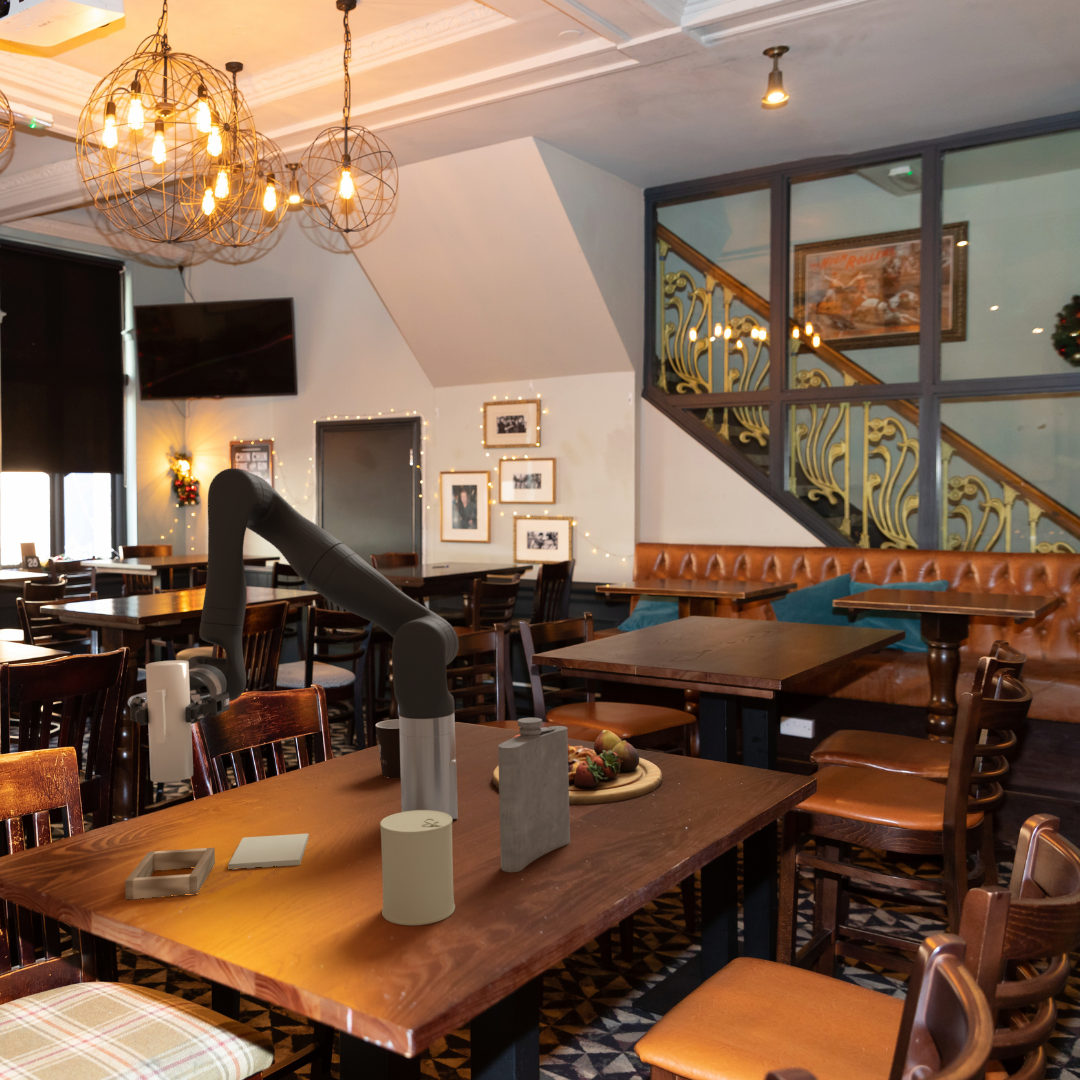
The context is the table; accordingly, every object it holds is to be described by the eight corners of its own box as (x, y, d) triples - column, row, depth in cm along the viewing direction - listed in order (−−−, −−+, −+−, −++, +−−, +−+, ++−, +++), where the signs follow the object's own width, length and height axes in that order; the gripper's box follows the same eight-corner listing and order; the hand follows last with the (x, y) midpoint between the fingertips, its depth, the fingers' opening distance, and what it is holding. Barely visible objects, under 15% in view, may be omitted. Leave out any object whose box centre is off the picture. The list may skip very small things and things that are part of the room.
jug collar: (214, 864, 143) (214, 847, 143) (197, 894, 131) (196, 876, 131) (149, 868, 141) (148, 851, 141) (125, 899, 130) (125, 881, 130)
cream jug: (197, 770, 140) (192, 659, 140) (184, 785, 132) (179, 668, 132) (156, 773, 140) (151, 661, 139) (140, 788, 132) (135, 670, 131)
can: (424, 931, 118) (421, 832, 117) (366, 916, 123) (364, 821, 122) (469, 905, 125) (467, 812, 125) (413, 892, 130) (411, 802, 130)
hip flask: (515, 873, 136) (511, 730, 136) (491, 868, 138) (488, 728, 138) (573, 840, 150) (570, 710, 149) (551, 836, 152) (548, 708, 151)
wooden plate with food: (458, 782, 186) (457, 739, 186) (578, 751, 207) (577, 712, 207) (574, 822, 162) (573, 773, 162) (697, 782, 183) (696, 738, 183)
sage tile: (308, 838, 154) (308, 833, 154) (299, 865, 142) (299, 859, 142) (243, 842, 152) (242, 837, 152) (228, 869, 140) (228, 864, 140)
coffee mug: (412, 781, 186) (411, 728, 186) (370, 779, 188) (368, 727, 188) (431, 765, 198) (430, 716, 198) (391, 764, 200) (389, 715, 199)
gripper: (143, 673, 150) (109, 692, 133) (239, 668, 152) (217, 686, 135) (145, 721, 150) (111, 747, 134) (241, 716, 152) (220, 740, 135)
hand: (165, 716), depth 135 cm, fingers closed on cream jug, 5 cm apart
